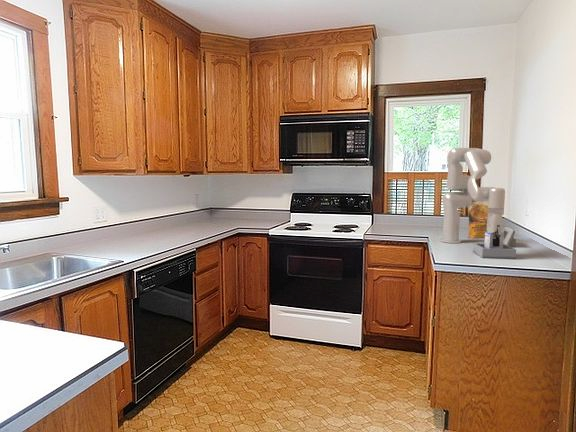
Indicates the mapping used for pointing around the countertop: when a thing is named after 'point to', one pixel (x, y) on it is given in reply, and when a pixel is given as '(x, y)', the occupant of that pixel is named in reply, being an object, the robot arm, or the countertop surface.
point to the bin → (494, 252)
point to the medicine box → (489, 240)
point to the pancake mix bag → (478, 219)
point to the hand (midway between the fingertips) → (493, 244)
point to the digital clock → (509, 237)
